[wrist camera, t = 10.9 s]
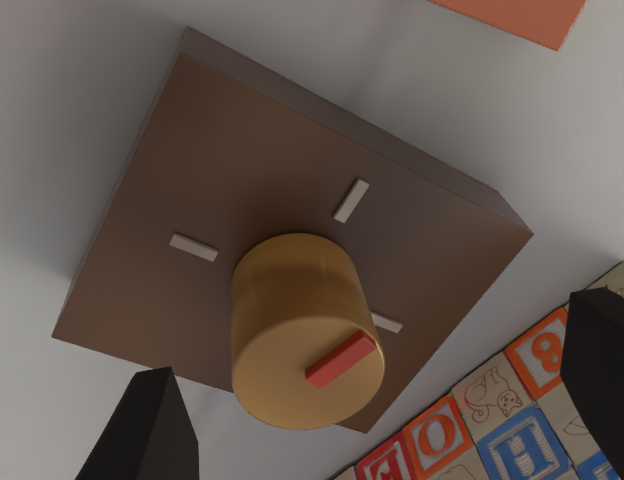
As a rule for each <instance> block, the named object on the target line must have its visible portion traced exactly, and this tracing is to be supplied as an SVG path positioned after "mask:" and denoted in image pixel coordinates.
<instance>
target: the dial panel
mask: <svg viewBox="0 0 624 480" xmlns="http://www.w3.org/2000/svg"><path fill="white" fill-rule="evenodd" d="M291 233H306V234H313V235H317V236H320V237H323V238H326V239H328V240H330V241H332V242H334V243H335V244H337V245H338V246H340V247H341V248H342V249H343V250H344V251H345V252H346V253H347V254H348V255H349V257H350V258H351V260H352V261H353V264H354V266H355V268H356V271H357V274H358V277H359V280H360V283H361V286H362V289H363V292H364V295H365V298H366V301H367V304H368V307H369V310H370V313H371V316H372V319H373V322H374V325H375V328H376V331H377V334H378V337H379V340H380V343H381V346H382V349H383V353H384V356H385V373H384V377H383V381H382V383H381V386H380V388H379V390H378V391H377V393H376V394H375V396H374V397H373V398H372V399H371V401H370V402H369V403H368V404H367V405H366V406H365V407H363V408H362V409H361V410H360V411H358V412H357V413H355V414H354V415H352V416H351V417H349V418H347V419H345V420H343V421H340V422H338V423H335V424H336V425H339V426H342V427H346V428H349V429H352V430H355V431H359V432H362V433H365V434H367V433H368V432H369V430H370V429H371V428H372V427H373V426H374V424H375V423H376V422H377V421H378V420H379V418H380V417H381V416H382V415H383V414H384V412H385V411H386V410H387V409H388V408H389V407H390V405H391V404H392V403H393V402H394V401H395V399H396V398H397V397H398V396H399V395H400V393H401V392H402V391H403V390H404V389H405V387H406V386H407V385H408V384H409V383H410V381H411V380H412V379H413V378H414V377H415V376H416V374H417V373H418V372H419V371H420V370H421V368H422V367H423V366H424V365H425V364H426V362H427V361H428V360H429V359H430V358H431V356H432V355H433V354H434V353H435V352H436V350H437V349H438V348H439V347H440V346H441V344H442V343H443V342H444V341H445V340H446V339H447V337H448V336H449V335H450V334H451V333H452V331H453V330H454V329H455V328H456V327H457V325H458V324H459V323H460V322H461V321H462V319H463V318H464V317H465V316H466V315H467V313H468V312H469V311H470V310H471V309H472V308H473V306H474V305H475V304H476V303H477V302H478V300H479V299H480V298H481V297H482V296H483V294H484V293H485V292H486V291H487V290H488V288H489V287H490V286H491V285H492V284H493V282H494V281H495V280H496V279H497V278H498V277H499V275H500V274H501V273H502V272H503V271H504V269H505V268H506V267H507V266H508V265H509V263H510V262H511V261H512V260H513V259H514V257H515V256H516V255H517V254H518V253H519V251H520V250H521V249H522V248H523V247H524V245H525V244H526V243H527V242H528V241H529V240H530V238H531V237H532V236H533V235H534V233H533V232H532V231H531V230H530V228H529V227H528V226H527V225H526V224H525V223H524V221H523V220H522V219H521V218H520V217H519V216H518V214H517V213H516V212H515V211H514V210H513V209H512V208H511V206H510V205H509V204H508V203H507V202H506V201H505V199H504V198H503V197H502V196H501V195H500V194H499V193H498V191H496V190H494V189H492V188H490V187H488V186H486V185H485V184H483V183H481V182H479V181H477V180H475V179H473V178H471V177H470V176H468V175H466V174H464V173H462V172H460V171H458V170H456V169H455V168H453V167H451V166H449V165H447V164H445V163H443V162H441V161H440V160H438V159H436V158H434V157H432V156H430V155H428V154H427V153H425V152H423V151H421V150H419V149H417V148H415V147H413V146H412V145H410V144H408V143H406V142H404V141H402V140H400V139H398V138H397V137H395V136H393V135H391V134H389V133H387V132H385V131H383V130H382V129H380V128H378V127H376V126H374V125H372V124H370V123H368V122H367V121H365V120H363V119H361V118H359V117H357V116H355V115H354V114H352V113H350V112H348V111H346V110H344V109H342V108H340V107H339V106H337V105H335V104H333V103H331V102H329V101H327V100H325V99H324V98H322V97H320V96H318V95H316V94H314V93H312V92H310V91H309V90H307V89H305V88H303V87H301V86H299V85H297V84H295V83H294V82H292V81H290V80H288V79H286V78H284V77H282V76H280V75H279V74H277V73H275V72H273V71H271V70H269V69H267V68H266V67H264V66H262V65H260V64H258V63H256V62H254V61H252V60H251V59H249V58H247V57H245V56H243V55H241V54H239V53H237V52H236V51H234V50H232V49H230V48H228V47H226V46H224V45H222V44H221V43H219V42H217V41H215V40H213V39H211V38H209V37H207V36H206V35H204V34H202V33H200V32H198V31H196V30H194V29H193V28H191V27H189V26H187V27H186V29H185V32H184V34H183V36H182V38H181V40H180V43H179V45H178V47H177V49H176V52H175V54H174V56H173V58H172V60H171V63H170V65H169V67H168V69H167V72H166V74H165V76H164V78H163V80H162V83H161V85H160V87H159V89H158V92H157V94H156V96H155V98H154V100H153V103H152V105H151V107H150V109H149V112H148V114H147V116H146V118H145V120H144V123H143V125H142V127H141V129H140V132H139V134H138V136H137V138H136V140H135V143H134V145H133V147H132V149H131V152H130V154H129V156H128V158H127V160H126V163H125V165H124V167H123V169H122V172H121V174H120V176H119V178H118V180H117V183H116V185H115V187H114V189H113V191H112V194H111V196H110V198H109V200H108V203H107V205H106V207H105V209H104V211H103V214H102V216H101V218H100V220H99V223H98V225H97V227H96V229H95V231H94V234H93V236H92V238H91V240H90V243H89V245H88V247H87V249H86V251H85V254H84V256H83V258H82V260H81V263H80V265H79V267H78V269H77V271H76V274H75V276H74V278H73V280H72V283H71V285H70V288H69V291H68V293H67V296H66V299H65V301H64V304H63V307H62V309H61V312H60V314H59V317H58V320H57V322H56V325H55V328H54V330H53V333H52V338H55V339H58V340H62V341H65V342H68V343H72V344H75V345H78V346H81V347H85V348H88V349H91V350H94V351H98V352H101V353H104V354H107V355H111V356H114V357H117V358H120V359H124V360H127V361H130V362H134V363H137V364H140V365H143V366H147V367H150V368H153V369H158V368H163V367H169V366H171V367H172V370H173V373H174V375H176V376H179V377H182V378H186V379H189V380H192V381H196V382H199V383H202V384H205V385H209V386H212V387H215V388H218V389H222V390H225V391H228V392H231V393H234V390H233V387H232V374H231V296H230V289H231V280H232V276H233V273H234V271H235V269H236V267H237V265H238V264H239V262H240V261H241V260H242V258H243V257H244V256H245V255H246V254H247V253H248V252H249V251H250V250H251V249H253V248H254V247H255V246H257V245H258V244H260V243H262V242H264V241H266V240H268V239H270V238H273V237H276V236H279V235H284V234H291Z"/></svg>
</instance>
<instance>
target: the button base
mask: <svg viewBox="0 0 624 480" xmlns="http://www.w3.org/2000/svg"><path fill="white" fill-rule="evenodd" d="M427 1H429V2H432V3H434V4H437V5H440V6H442V7H445V8H447V9H450V10H452V11H455V12H457V13H460V14H462V15H465V16H468V17H470V18H473V19H475V20H478V21H480V22H483V23H485V24H488V25H491V26H493V27H496V28H498V29H501V30H503V31H506V32H508V33H511V34H513V35H516V36H519V37H521V38H524V39H526V40H529V41H531V42H534V43H536V44H539V45H542V46H544V47H547V48H549V49H552V50H554V51H559V50H560V49H561V47H562V45H563V43H564V42H565V40H566V38H567V36H568V34H569V32H570V31H571V29H572V27H573V25H574V23H575V21H576V20H577V18H578V16H579V14H580V12H581V11H582V9H583V7H584V5H585V3H586V1H587V0H427Z"/></svg>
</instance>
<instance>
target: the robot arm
mask: <svg viewBox="0 0 624 480" xmlns="http://www.w3.org/2000/svg"><path fill="white" fill-rule="evenodd" d="M559 375H560V377H561V379H562V381H563V383H564V385H565V387H566V389H567V391H568V394H569V396H570V398H571V400H572V402H573V404H574V406H575V408H576V410H577V411H578V413H579V415H580V417H581V419H582V421H583V423H584V425H585V426H586V428H587V430H588V431H589V433H590V434H591V436H592V437H593V439H594V440H595V442H596V443H597V445H598V446H599V448H600V449H601V451H602V452H603V454H604V455H605V457H606V458H607V460H608V461H609V463H610V464H611V466H612V467H613V469H614V470H615V472H616V473H617V475H618V476H619V478H620V479H621V480H624V297H622V296H620V295H618V294H617V293H615V292H613V291H611V290H609V289H607V288H605V287H599V288H594V289H588V290H583V291H577V292H572V293H571V294H570V301H569V309H568V316H567V323H566V330H565V338H564V345H563V352H562V360H561V367H560V374H559ZM75 480H199V451H198V441H197V438H196V435H195V432H194V429H193V427H192V424H191V421H190V418H189V415H188V412H187V410H186V407H185V404H184V401H183V398H182V395H181V393H180V390H179V387H178V384H177V381H176V378H175V376H174V373H173V370H172V367H171V366H169V367H163V368H158V369H152V370H147V371H141V372H136V374H135V375H134V376H133V378H132V379H131V381H130V383H129V385H128V387H127V388H126V390H125V392H124V394H123V396H122V398H121V400H120V402H119V403H118V405H117V407H116V409H115V411H114V413H113V415H112V416H111V418H110V420H109V422H108V424H107V425H106V427H105V429H104V431H103V433H102V434H101V436H100V438H99V440H98V441H97V443H96V445H95V447H94V448H93V450H92V452H91V453H90V455H89V457H88V458H87V460H86V462H85V463H84V465H83V467H82V468H81V470H80V472H79V474H78V475H77V477H76V479H75Z"/></svg>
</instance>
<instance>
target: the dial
mask: <svg viewBox="0 0 624 480" xmlns="http://www.w3.org/2000/svg"><path fill="white" fill-rule="evenodd" d="M230 296H231V374H232V387H233V390H234V393H235V395H236V397H237V399H238V401H239V403H240V404H241V405H242V407H243V408H244V409H245V410H246V411H247V412H248V413H249V414H251V415H252V416H253V417H255V418H256V419H258V420H260V421H262V422H264V423H266V424H269V425H272V426H275V427H279V428H284V429H293V430H307V429H316V428H321V427H325V426H329V425H332V424H335V423H338V422H340V421H343V420H345V419H347V418H349V417H351V416H352V415H354V414H355V413H357V412H358V411H360V410H361V409H362V408H363V407H365V406H366V405H367V404H368V403H369V402H370V401H371V399H372V398H373V397H374V396H375V394H376V393H377V391H378V390H379V388H380V386H381V383H382V381H383V377H384V373H385V356H384V353H383V349H382V346H381V343H380V340H379V337H378V334H377V331H376V328H375V325H374V322H373V319H372V316H371V313H370V310H369V307H368V304H367V301H366V298H365V295H364V292H363V289H362V286H361V283H360V280H359V277H358V274H357V271H356V268H355V266H354V264H353V261H352V260H351V258H350V257H349V255H348V254H347V253H346V252H345V251H344V250H343V249H342V248H341V247H340V246H338V245H337V244H335V243H334V242H332V241H330V240H328V239H326V238H323V237H320V236H317V235H313V234H306V233H291V234H284V235H279V236H276V237H273V238H270V239H268V240H266V241H264V242H262V243H260V244H258V245H257V246H255V247H254V248H253V249H251V250H250V251H249V252H248V253H247V254H246V255H245V256H244V257H243V258H242V260H241V261H240V262H239V264H238V265H237V267H236V269H235V271H234V273H233V276H232V280H231V289H230Z"/></svg>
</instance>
